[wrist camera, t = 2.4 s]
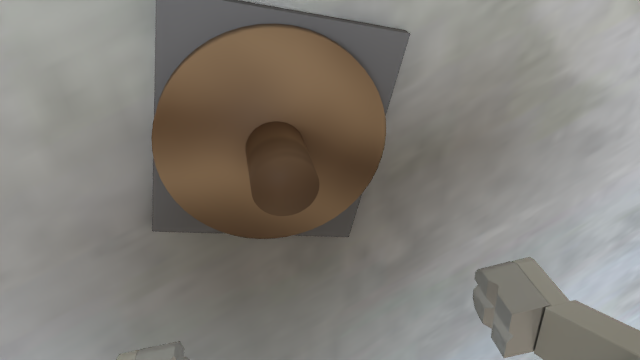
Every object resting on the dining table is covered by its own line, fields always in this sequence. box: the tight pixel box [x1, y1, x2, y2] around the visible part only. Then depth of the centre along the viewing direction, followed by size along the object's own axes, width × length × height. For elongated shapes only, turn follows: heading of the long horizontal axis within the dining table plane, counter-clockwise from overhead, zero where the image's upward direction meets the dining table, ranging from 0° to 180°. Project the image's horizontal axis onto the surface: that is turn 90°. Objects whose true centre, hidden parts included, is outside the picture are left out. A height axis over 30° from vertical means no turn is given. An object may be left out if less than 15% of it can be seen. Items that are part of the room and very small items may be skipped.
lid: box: [152, 24, 386, 239], centre depth 20 cm, size 11×11×4 cm
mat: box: [152, 0, 410, 237], centre depth 22 cm, size 12×11×1 cm
